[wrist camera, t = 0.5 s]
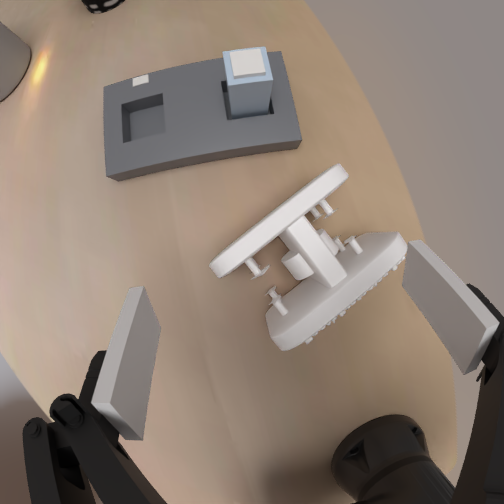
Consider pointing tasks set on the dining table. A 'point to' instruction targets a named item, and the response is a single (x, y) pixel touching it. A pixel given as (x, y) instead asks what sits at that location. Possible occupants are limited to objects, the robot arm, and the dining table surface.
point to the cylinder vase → (11, 60)
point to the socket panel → (190, 120)
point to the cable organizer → (313, 262)
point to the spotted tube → (101, 5)
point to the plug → (248, 81)
